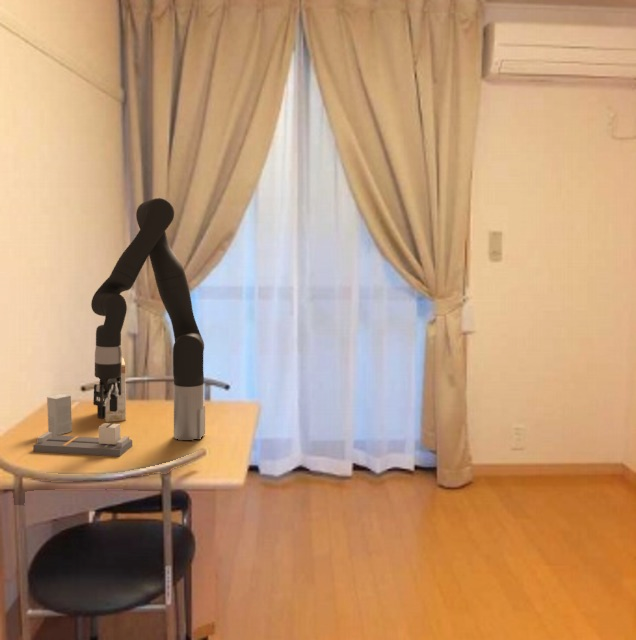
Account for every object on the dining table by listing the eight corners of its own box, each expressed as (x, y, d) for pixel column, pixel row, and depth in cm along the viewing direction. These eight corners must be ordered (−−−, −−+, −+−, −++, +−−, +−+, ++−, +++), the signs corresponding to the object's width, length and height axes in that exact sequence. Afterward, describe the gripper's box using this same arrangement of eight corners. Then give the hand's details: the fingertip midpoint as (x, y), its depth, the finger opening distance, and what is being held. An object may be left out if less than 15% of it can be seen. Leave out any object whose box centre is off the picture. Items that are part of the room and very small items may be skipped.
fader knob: (120, 440, 210) (120, 423, 209) (115, 444, 206) (115, 427, 205) (104, 439, 210) (104, 422, 210) (98, 443, 206) (98, 426, 206)
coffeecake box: (103, 410, 252) (103, 357, 250) (124, 409, 254) (124, 356, 252) (104, 422, 238) (103, 365, 236) (126, 420, 240) (125, 364, 238)
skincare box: (63, 429, 228) (62, 393, 227) (72, 431, 226) (71, 395, 224) (47, 434, 223) (46, 396, 221) (56, 436, 221) (55, 398, 219)
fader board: (132, 445, 213) (132, 434, 213) (120, 456, 203) (119, 444, 203) (49, 441, 215) (49, 430, 215) (33, 451, 206) (33, 439, 205)
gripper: (110, 366, 198) (109, 422, 200) (129, 357, 212) (129, 409, 214) (85, 364, 199) (84, 420, 201) (106, 355, 213) (105, 407, 215)
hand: (107, 414), depth 208 cm, fingers open, 8 cm apart
